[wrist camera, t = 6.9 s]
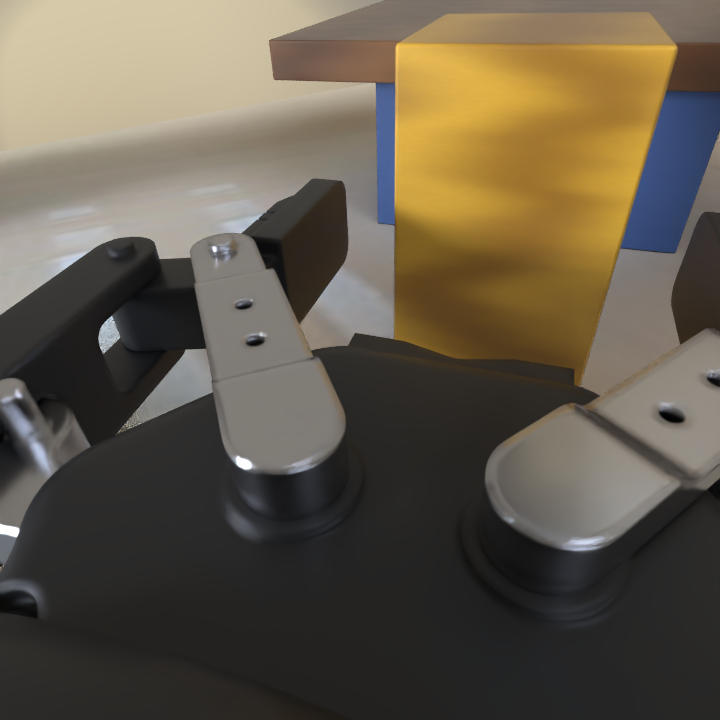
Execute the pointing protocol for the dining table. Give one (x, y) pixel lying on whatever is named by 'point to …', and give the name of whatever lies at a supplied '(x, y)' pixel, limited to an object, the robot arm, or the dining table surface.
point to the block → (519, 176)
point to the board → (428, 3)
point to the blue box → (659, 177)
